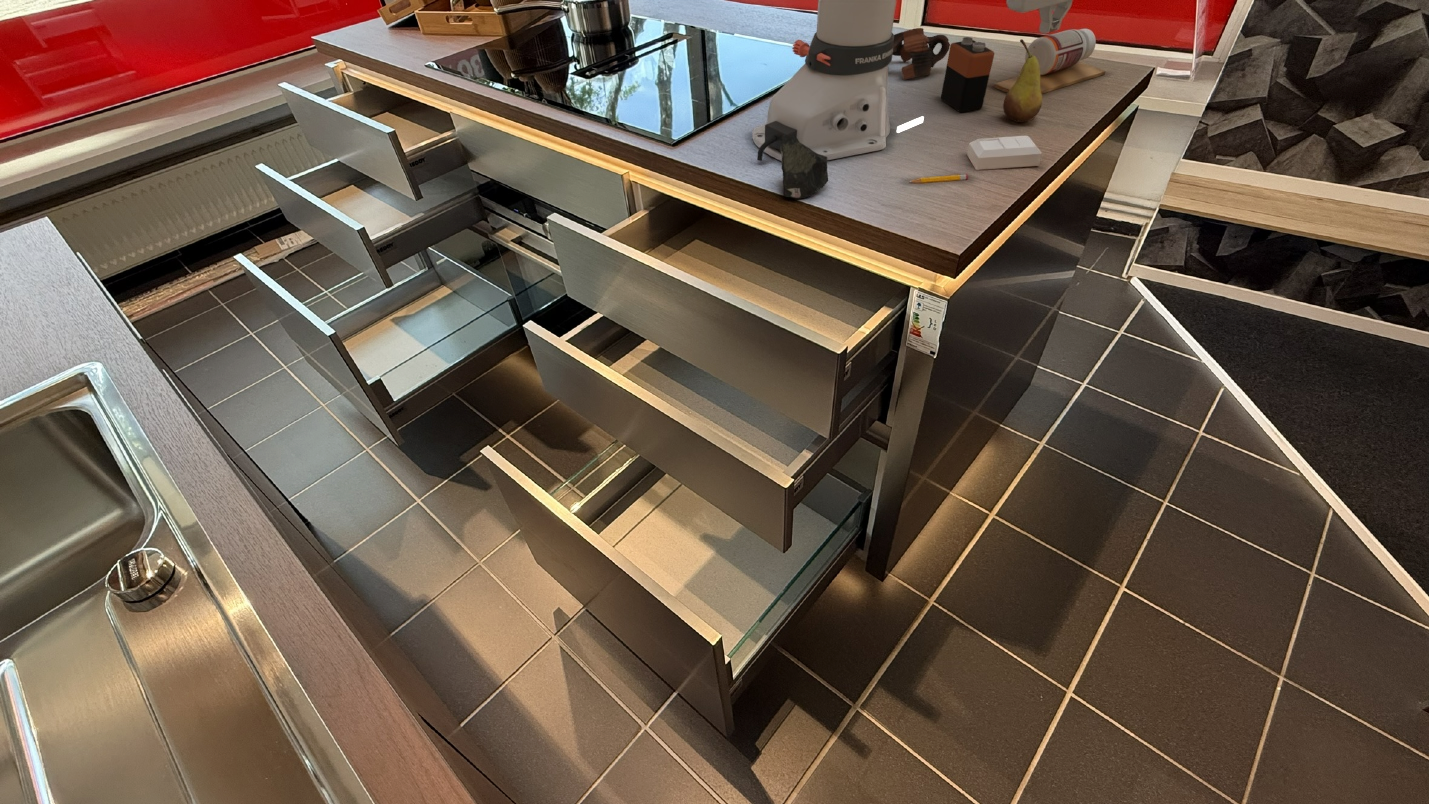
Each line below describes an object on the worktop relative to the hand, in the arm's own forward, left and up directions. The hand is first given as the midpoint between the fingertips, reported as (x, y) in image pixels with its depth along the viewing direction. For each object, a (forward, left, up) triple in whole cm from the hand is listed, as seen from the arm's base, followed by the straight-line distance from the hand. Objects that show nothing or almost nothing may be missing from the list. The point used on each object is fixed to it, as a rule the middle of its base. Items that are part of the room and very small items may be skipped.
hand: (1048, 31), depth 114 cm
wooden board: (+4, 0, -9) cm, 10 cm away
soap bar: (-26, -18, -9) cm, 33 cm away
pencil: (-38, -18, -9) cm, 43 cm away
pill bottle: (+2, +2, -5) cm, 6 cm away
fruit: (-13, -9, -9) cm, 18 cm away
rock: (-55, -9, -4) cm, 56 cm away
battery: (-16, +1, -9) cm, 18 cm away
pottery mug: (-12, +18, -9) cm, 23 cm away
